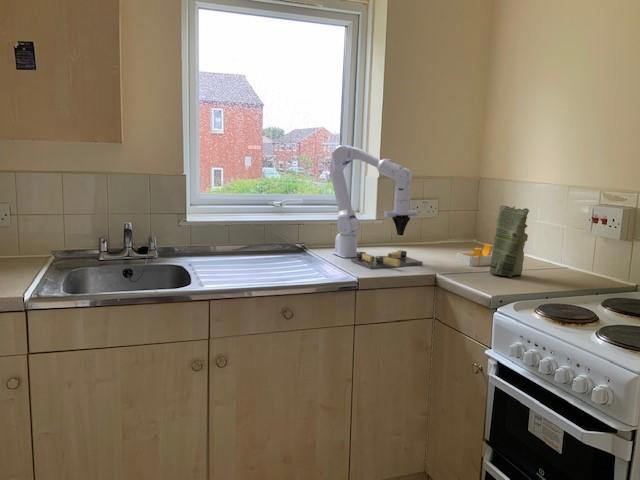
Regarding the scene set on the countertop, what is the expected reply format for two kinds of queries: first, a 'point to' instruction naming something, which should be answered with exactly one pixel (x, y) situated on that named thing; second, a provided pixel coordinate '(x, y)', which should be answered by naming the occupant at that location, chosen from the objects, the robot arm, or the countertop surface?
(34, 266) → the countertop surface
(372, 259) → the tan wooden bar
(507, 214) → the pouch
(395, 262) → the near knob
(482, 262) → the parts bin frame
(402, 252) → the far knob
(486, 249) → the pipe clamp
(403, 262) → the levelling plate
